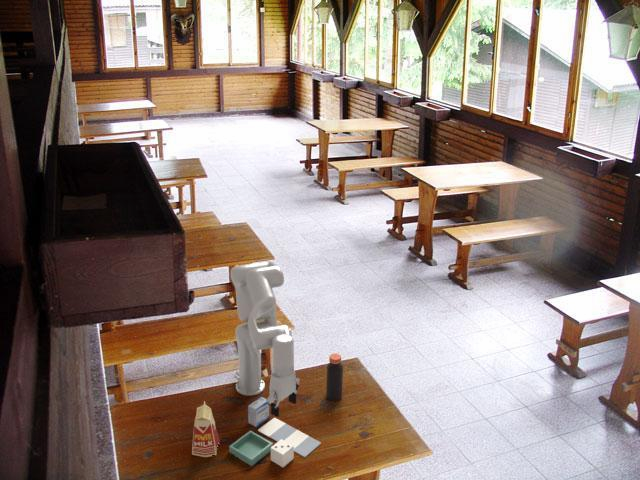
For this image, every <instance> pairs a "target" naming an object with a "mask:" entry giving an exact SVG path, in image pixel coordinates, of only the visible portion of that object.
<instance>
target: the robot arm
mask: <svg viewBox="0 0 640 480" xmlns="http://www.w3.org/2000/svg"><path fill="white" fill-rule="evenodd" d="M230 279H231V282H232V285H233V286H234V288H235V293H236V306H237V308H236V310H237V315H238V319H239V320H240V321H241V322H244V323H241V324H239V325H237V327H236V328H235V331H234V333H235V340H236V345H237V353H238V354H237V356H238V370H236V372H235V374H234V375H233V378H234V379H236V380H237V382H236V384H235V390H236V392H237V393H238V394H241V395H242V396H247V397H249V396H250V397H251V396H257V395H259V394H261V393H262V392H264V391H265V387H266V383H265V381H264V380H263V379H262V353H261V350H269V349H272V350H271V351H272V353H271V354H272V355H271V356H272V357H271V359H272V373H271V375H270V378H269V379H270V380H269V381H270V382H269V393H268V394H269V396H267V398H266V399H267V400H266V401H267V403H268V405H269V407H270V413H271V415H273V416H274V417H275V418H278V417H280V408H279V404H280V402H282V401H283V400H285V399H287V398H288V402H290V403H291V404H292V405H293V404H294V405H296V404H297V394H298V389H299V386H300V385H299V384H300V381H301V378H298V377H297V376H296V371H295V359H294V358H295V353H294V352H295V349H294V348H295V347H294V346H295V345H294V343H295V342H294V338H293V336H292V335H293V334H292V329H291V328H290V326H288V325H287V324H278V323H277V306H276V305H277V304H276V303H277V298H276V296H275V293H274V288H280V287H282V286H283V285H284V283H285V277H284V272H283V270H282V268H281V267H280V265H278V264H276V263H275V262H273V261H269V260H267V261H261V262H254V263H253V262H252V263H251V262H250V263H246V264H240V265H236V266H235V265H234V266H233V267H232V268H231V269H230ZM275 401H276V402H275ZM274 402H275V403H274Z"/></svg>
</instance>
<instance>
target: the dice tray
mask: <svg viewBox="0 0 640 480" xmlns="http://www.w3.org/2000/svg"><path fill="white" fill-rule="evenodd" d="M273 445H274V443H273V442H271V441H270V440H268V439H266V438H264V437H263V436H261V435H259V434H257V433H255V432H254V431H253V430H249V431H247V432H246V433H245V434H244V435H241V437H240V438H238V439H237V440H236V441H234V442H233V443H231V444H230V445H229V446H228V448H229V449H228V450H229V451H228V453H229V452H231V453H232V454H234V455H235V456H234V455H233V456H234V457H235V458H237V457H238V459H239V460H241V461H242V462H244V463H246V464H248V465H249V466H250V467H253V466H254V465H256V464H257V463H258V462H259V461H261V460H262V459H263V458H264V457H266V456H267V455H268V454H270V453H271V447H272V446H273ZM231 453H230V454H231ZM232 454H231V455H232Z"/></svg>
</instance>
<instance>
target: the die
mask: <svg viewBox="0 0 640 480" xmlns="http://www.w3.org/2000/svg"><path fill="white" fill-rule="evenodd" d="M294 453H295V452H294V446H293V445H291V444H289V443H288V442H286V441H284V440H282V439H281V440H280V441H278V442H275V443H274V444H273V446H272V447H271V452H270V461H271V462H273V463H275V464H276V465H278V466H280V467H281V468H285V467H286V466H287V465H288V464H290V463H291V461H293V460H294V458H295V455H294Z"/></svg>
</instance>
